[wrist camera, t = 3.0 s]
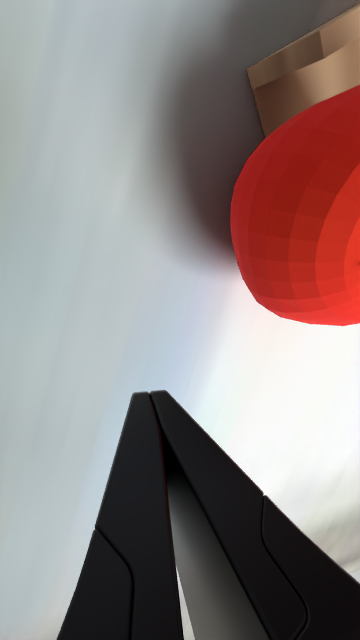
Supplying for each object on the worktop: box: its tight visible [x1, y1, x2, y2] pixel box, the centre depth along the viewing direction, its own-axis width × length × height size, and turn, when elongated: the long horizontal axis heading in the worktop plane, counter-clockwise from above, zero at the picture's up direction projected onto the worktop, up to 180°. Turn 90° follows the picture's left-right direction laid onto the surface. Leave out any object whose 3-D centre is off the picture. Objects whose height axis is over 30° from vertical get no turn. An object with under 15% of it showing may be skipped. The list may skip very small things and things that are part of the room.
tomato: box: [230, 85, 360, 326], centre depth 17 cm, size 11×12×10 cm
